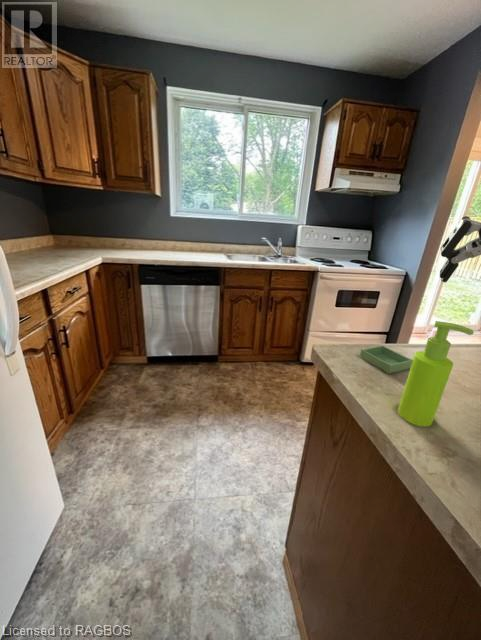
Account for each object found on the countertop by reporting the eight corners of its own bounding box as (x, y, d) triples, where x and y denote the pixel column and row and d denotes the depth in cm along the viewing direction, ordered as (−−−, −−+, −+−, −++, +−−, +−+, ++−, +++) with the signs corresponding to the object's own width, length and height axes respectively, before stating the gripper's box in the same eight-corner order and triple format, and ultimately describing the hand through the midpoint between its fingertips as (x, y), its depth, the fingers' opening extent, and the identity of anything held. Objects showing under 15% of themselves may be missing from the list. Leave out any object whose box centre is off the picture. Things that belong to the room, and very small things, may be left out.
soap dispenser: (437, 434, 49) (475, 334, 42) (395, 418, 53) (423, 323, 46) (439, 417, 54) (473, 324, 47) (400, 403, 58) (426, 315, 51)
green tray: (359, 357, 77) (361, 349, 76) (380, 353, 80) (382, 345, 79) (388, 374, 69) (390, 365, 68) (410, 368, 72) (413, 360, 71)
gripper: (611, 190, 35) (516, 289, 46) (484, 169, 39) (425, 264, 51) (640, 210, 30) (525, 315, 42) (492, 184, 34) (424, 285, 46)
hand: (470, 287), depth 46 cm, fingers open, 8 cm apart
